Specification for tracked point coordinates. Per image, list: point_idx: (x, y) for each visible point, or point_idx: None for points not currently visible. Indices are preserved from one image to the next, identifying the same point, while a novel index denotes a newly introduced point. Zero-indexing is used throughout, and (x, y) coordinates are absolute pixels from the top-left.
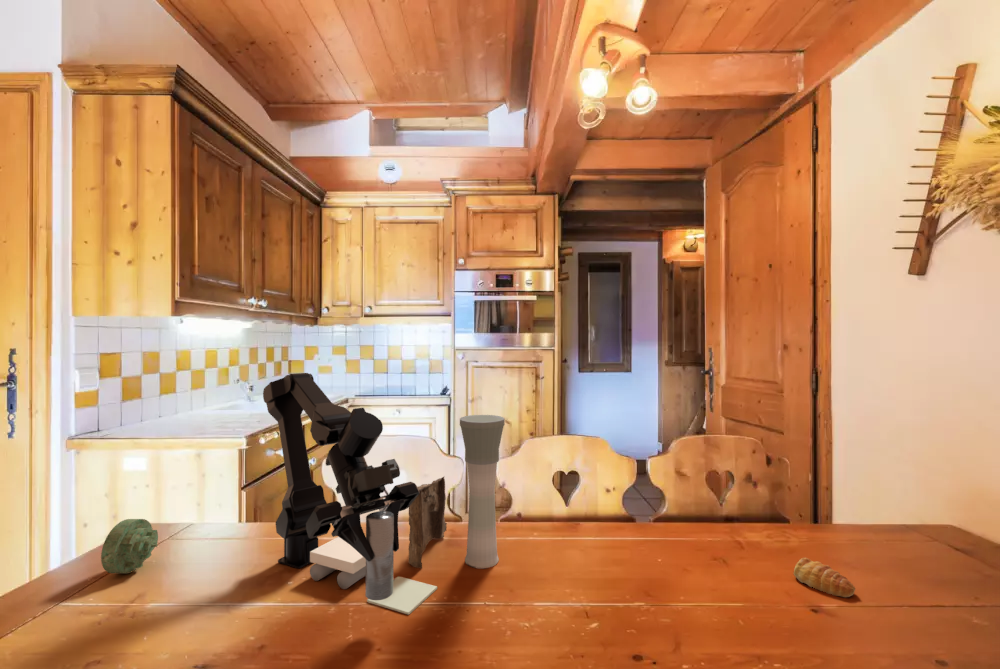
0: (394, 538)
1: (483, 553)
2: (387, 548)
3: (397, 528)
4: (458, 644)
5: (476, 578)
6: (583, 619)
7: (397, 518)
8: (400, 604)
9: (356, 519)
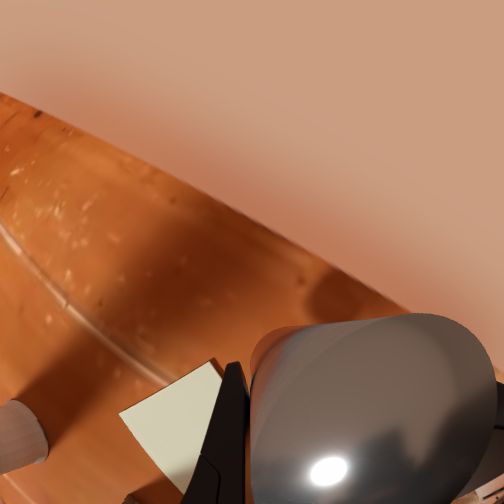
0: (242, 399)
1: (9, 415)
2: (306, 327)
3: (206, 446)
4: (165, 217)
5: (46, 389)
6: (12, 186)
7: (185, 501)
8: (215, 399)
9: None
